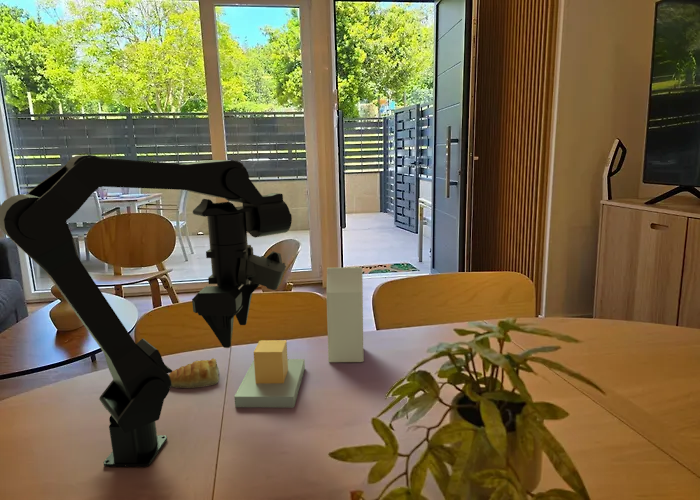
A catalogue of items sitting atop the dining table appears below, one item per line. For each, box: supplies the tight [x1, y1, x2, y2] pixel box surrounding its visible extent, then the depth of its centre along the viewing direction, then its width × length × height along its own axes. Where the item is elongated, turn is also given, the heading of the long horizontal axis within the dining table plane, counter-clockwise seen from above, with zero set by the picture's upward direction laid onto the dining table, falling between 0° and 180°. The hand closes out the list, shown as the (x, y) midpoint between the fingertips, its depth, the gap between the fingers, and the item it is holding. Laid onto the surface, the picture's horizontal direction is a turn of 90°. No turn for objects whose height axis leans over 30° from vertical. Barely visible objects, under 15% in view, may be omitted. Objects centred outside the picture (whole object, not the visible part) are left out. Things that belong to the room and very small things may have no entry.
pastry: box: [168, 357, 220, 389], centre depth 87 cm, size 9×7×4 cm
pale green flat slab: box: [234, 358, 306, 408], centre depth 84 cm, size 14×10×7 cm
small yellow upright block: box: [253, 339, 289, 383], centre depth 83 cm, size 5×5×6 cm
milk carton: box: [325, 267, 364, 363], centre depth 95 cm, size 7×7×19 cm
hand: (235, 335), depth 75 cm, fingers open, 9 cm apart
